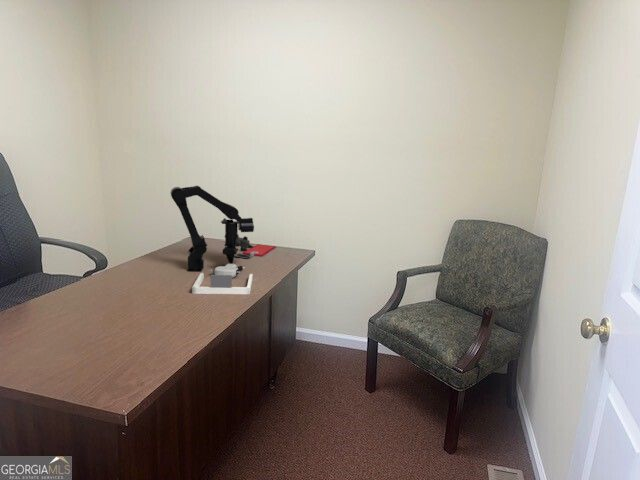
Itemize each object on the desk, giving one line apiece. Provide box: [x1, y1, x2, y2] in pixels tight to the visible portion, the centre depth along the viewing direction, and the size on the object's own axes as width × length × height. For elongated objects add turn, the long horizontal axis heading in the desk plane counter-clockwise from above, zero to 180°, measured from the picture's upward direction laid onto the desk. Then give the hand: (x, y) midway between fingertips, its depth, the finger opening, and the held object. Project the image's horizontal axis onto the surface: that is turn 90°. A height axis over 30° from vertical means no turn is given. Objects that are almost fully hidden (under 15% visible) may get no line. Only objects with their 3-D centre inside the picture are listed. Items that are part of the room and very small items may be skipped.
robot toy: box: [210, 263, 245, 279], centre depth 191 cm, size 12×4×15 cm
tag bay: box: [191, 272, 254, 295], centre depth 175 cm, size 22×19×8 cm
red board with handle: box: [234, 243, 277, 259], centre depth 233 cm, size 30×3×15 cm
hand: (231, 264), depth 202 cm, fingers closed
